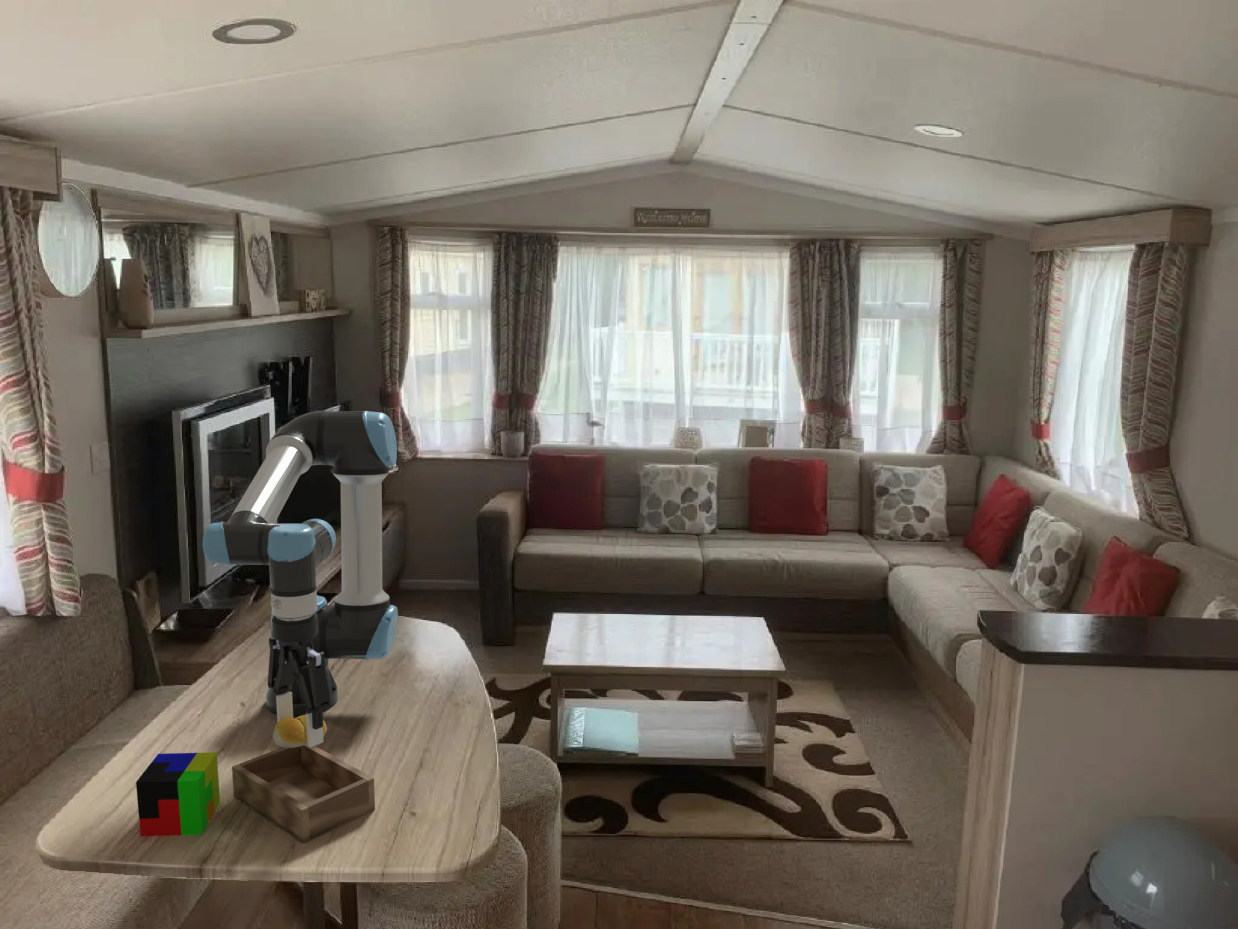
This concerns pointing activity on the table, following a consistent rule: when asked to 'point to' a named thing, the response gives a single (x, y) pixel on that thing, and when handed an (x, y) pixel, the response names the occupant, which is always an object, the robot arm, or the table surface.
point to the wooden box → (303, 790)
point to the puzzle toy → (178, 794)
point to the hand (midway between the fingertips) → (300, 736)
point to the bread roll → (292, 732)
